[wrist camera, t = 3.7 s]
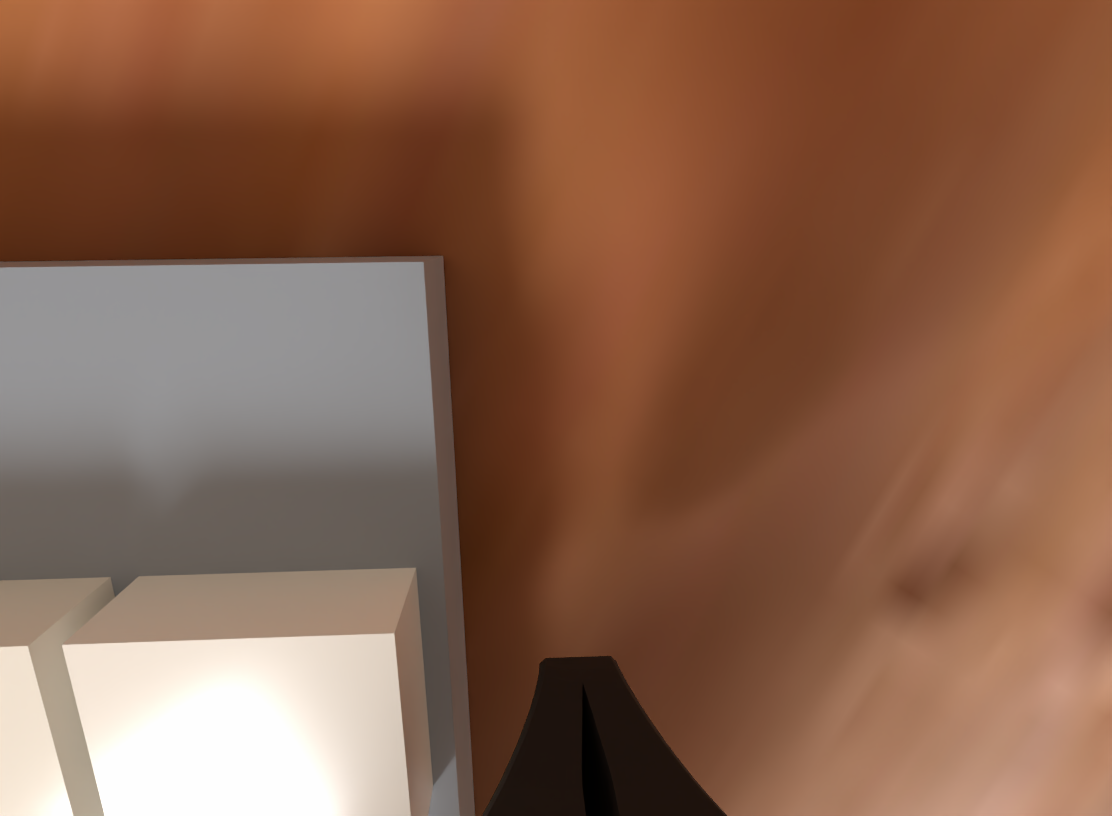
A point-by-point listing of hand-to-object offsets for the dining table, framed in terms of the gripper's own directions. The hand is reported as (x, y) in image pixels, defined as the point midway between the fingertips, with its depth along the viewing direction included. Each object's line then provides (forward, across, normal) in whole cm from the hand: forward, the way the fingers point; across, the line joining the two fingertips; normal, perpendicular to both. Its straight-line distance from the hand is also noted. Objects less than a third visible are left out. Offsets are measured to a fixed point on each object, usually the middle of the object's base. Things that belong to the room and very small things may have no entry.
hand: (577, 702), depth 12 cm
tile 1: (+1, +5, 0) cm, 5 cm away
